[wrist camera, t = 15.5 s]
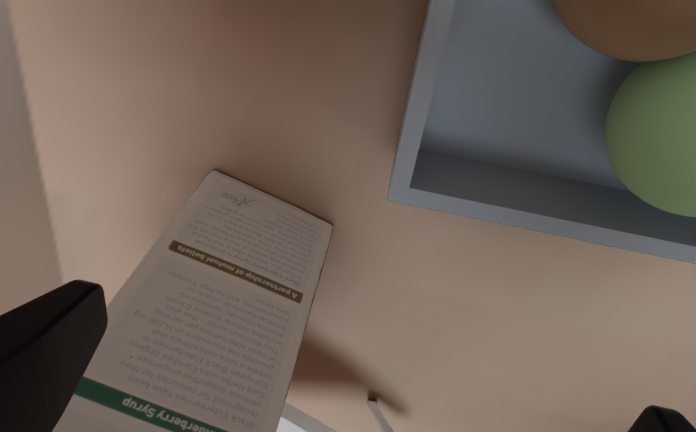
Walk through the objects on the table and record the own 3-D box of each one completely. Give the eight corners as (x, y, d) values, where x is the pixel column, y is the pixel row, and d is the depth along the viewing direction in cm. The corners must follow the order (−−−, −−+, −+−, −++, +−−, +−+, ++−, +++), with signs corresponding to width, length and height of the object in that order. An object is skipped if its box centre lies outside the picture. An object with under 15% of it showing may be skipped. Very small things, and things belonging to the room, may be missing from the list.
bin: (715, 218, 19) (765, 278, 16) (394, 152, 20) (386, 200, 17) (984, -193, 12) (1151, -216, 10) (488, -274, 13) (502, -319, 10)
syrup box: (210, 163, 21) (-99, 539, 9) (341, 224, 22) (217, 650, 10) (178, 260, 24) (-84, 636, 12) (293, 311, 25) (154, 715, 13)
